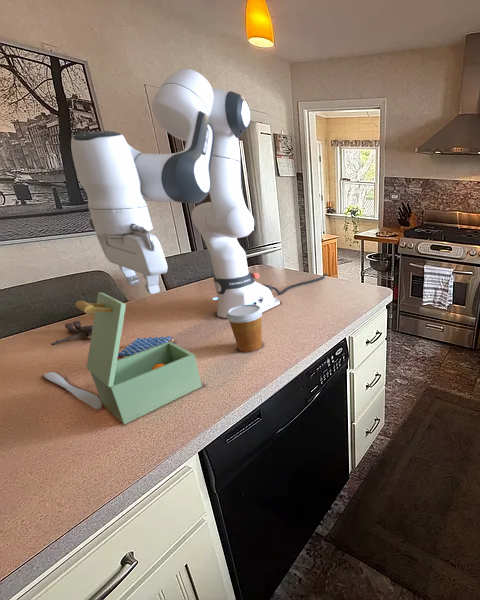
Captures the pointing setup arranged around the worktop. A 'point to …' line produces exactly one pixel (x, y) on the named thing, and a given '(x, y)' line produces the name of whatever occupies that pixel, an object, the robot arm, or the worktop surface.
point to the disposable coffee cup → (246, 326)
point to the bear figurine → (81, 330)
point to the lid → (104, 336)
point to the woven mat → (143, 345)
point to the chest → (149, 381)
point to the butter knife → (75, 390)
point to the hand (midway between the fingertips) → (143, 288)
